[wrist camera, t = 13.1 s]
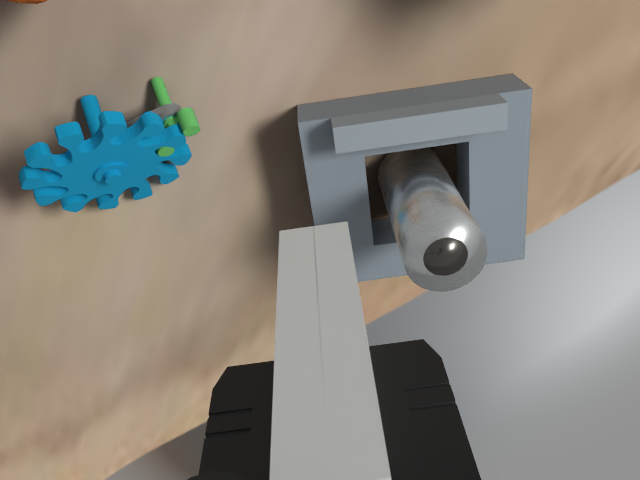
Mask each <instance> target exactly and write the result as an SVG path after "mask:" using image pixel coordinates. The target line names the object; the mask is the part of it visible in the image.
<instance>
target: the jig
mask: <svg viewBox="0 0 640 480" xmlns="http://www.w3.org/2000/svg"><path fill="white" fill-rule="evenodd" d="M531 103H532V88H531V87H529V86H528V85H527V84H526V83H524V82H523V81H522V80H521V79H519V78H518V77H517V76H515V75H514V74H506V75H499V76H493V77H486V78H479V79H472V80H465V81H458V82H452V83H445V84H438V85H431V86H424V87H417V88H411V89H404V90H397V91H390V92H383V93H376V94H370V95H363V96H356V97H349V98H342V99H335V100H329V101H322V102H315V103H308V104H301V105H297V114H298V128H299V134H300V140H301V146H302V152H303V159H304V165H305V171H306V177H307V183H308V190H309V196H310V202H311V208H312V214H313V221H314V226H318V225H325V224H332V223H339V222H346V221H347V222H348V228H349V234H350V239H351V245H352V251H353V257H354V263H355V269H356V274H357V280H358V282H360V281H367V280H375V279H382V278H389V277H397V276H404V275H407V273H406V270H405V267H404V264H403V261H402V257H401V254H400V251H399V248H398V244H397V241H396V238H395V234H394V231H393V228H392V225H391V221H390V218H387V219H380V220H373V221H371V214H370V205H369V195H368V186H367V176H366V167H365V157H364V156H371V155H378V154H385V153H392V152H399V151H406V150H413V149H420V148H427V147H434V146H441V145H448V144H455V143H456V169H457V190H458V192H459V194H460V196H461V198H462V199H463V201H464V203H465V205H466V206H467V208H468V210H469V212H470V213H471V215H472V217H473V219H474V220H475V222H476V224H477V226H478V227H479V229H480V231H481V233H482V234H483V236H484V238H485V240H486V243H487V251H488V252H487V259H486V262H485V264H492V263H500V262H507V261H514V260H521V259H524V256H525V234H526V212H527V191H528V169H529V147H530V125H531ZM485 264H484V265H485Z"/></svg>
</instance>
